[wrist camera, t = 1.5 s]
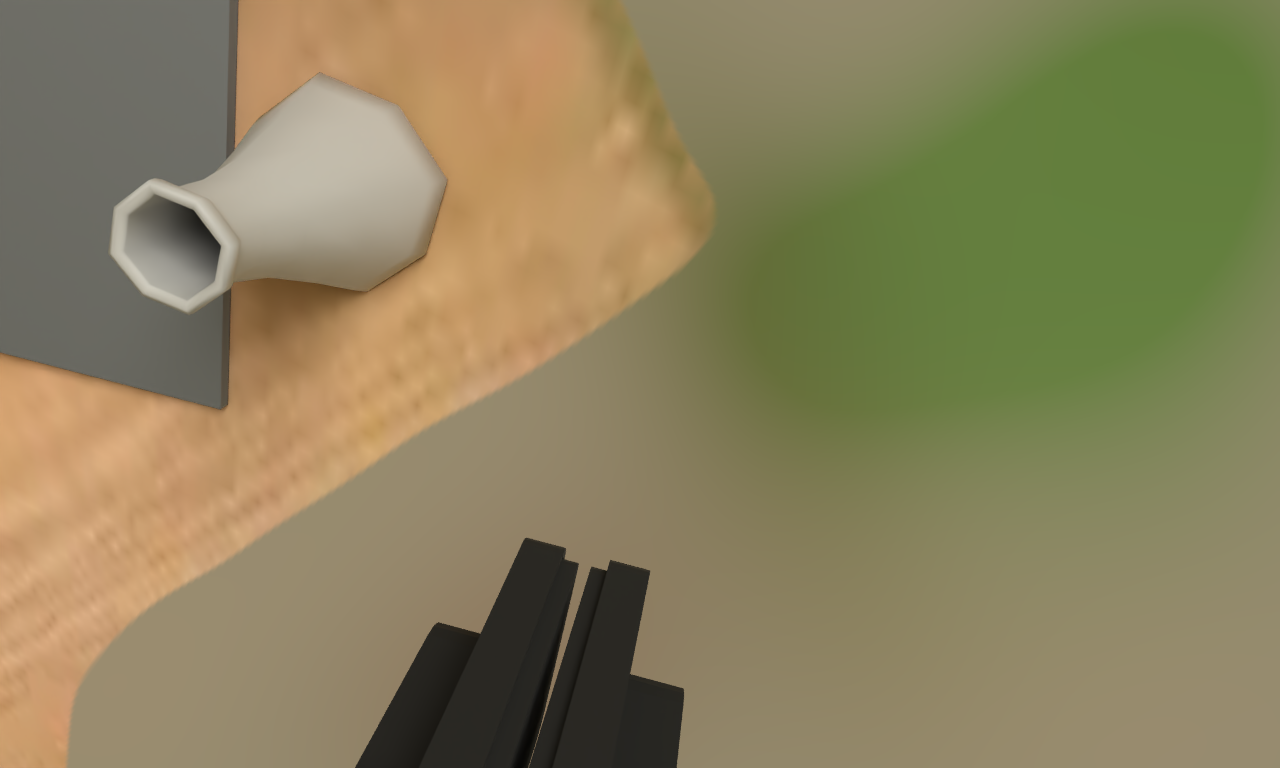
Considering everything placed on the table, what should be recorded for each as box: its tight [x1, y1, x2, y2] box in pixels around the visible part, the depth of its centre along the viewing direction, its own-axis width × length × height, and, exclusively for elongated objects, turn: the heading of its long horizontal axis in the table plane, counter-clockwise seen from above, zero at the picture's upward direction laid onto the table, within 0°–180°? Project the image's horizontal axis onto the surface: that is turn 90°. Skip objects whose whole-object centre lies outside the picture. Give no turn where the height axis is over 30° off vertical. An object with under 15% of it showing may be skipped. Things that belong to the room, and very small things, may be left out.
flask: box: [108, 72, 447, 315], centre depth 25 cm, size 7×7×10 cm
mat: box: [0, 0, 238, 409], centre depth 30 cm, size 14×20×1 cm
